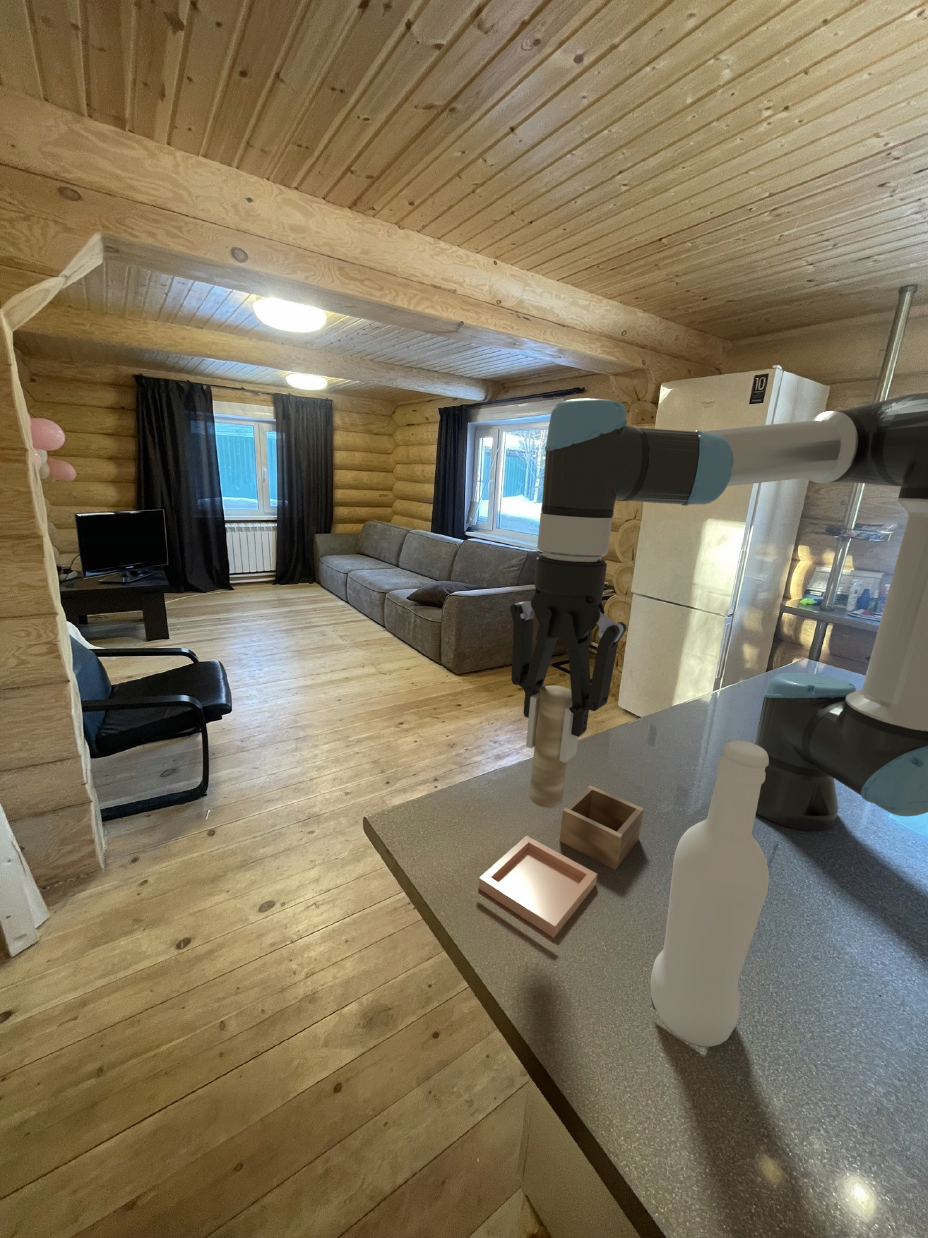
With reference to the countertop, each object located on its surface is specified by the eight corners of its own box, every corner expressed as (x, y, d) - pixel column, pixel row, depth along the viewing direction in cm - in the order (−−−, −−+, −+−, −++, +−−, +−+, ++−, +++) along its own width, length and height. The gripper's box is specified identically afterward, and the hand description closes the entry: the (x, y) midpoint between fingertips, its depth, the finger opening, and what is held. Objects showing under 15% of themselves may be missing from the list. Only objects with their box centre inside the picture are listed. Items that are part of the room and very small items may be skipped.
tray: (595, 889, 68) (597, 874, 67) (553, 943, 59) (555, 926, 59) (525, 849, 74) (526, 835, 74) (478, 893, 66) (479, 877, 65)
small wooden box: (638, 843, 77) (643, 808, 75) (614, 874, 70) (619, 837, 69) (585, 818, 82) (589, 785, 80) (559, 845, 75) (563, 810, 74)
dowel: (568, 797, 63) (581, 692, 60) (551, 812, 60) (564, 702, 57) (540, 784, 66) (551, 682, 62) (523, 797, 63) (533, 691, 59)
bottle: (635, 975, 56) (678, 724, 48) (706, 972, 57) (759, 725, 49) (670, 1055, 48) (728, 772, 40) (751, 1050, 49) (824, 771, 41)
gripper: (662, 563, 53) (631, 765, 59) (524, 544, 63) (510, 717, 69) (634, 570, 47) (603, 792, 53) (488, 548, 58) (476, 736, 64)
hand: (550, 749), depth 61 cm, fingers closed on dowel, 4 cm apart
